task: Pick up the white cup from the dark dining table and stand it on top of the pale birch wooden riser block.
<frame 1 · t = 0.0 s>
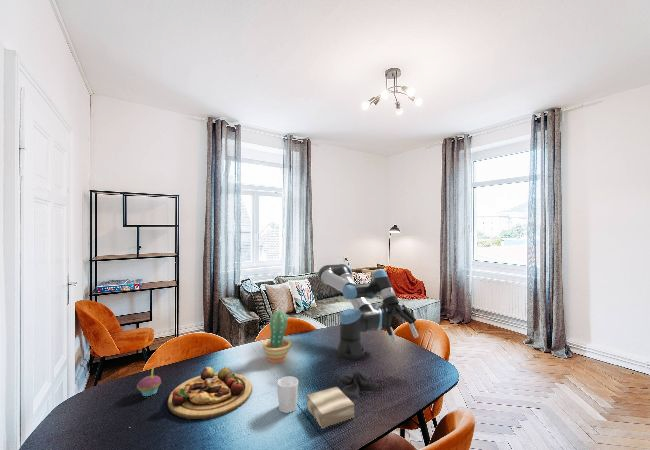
hand: (406, 339, 139), 15 cm above the table, tool tilted 35°, fingers open, 13 cm apart
cloth: (360, 386, 127), on the table
potted cactus: (276, 359, 152), on the table
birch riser: (330, 412, 107), on the table
cupcake: (149, 394, 119), on the table
white cup: (287, 408, 110), on the table
wooden plate with food: (211, 396, 119), on the table
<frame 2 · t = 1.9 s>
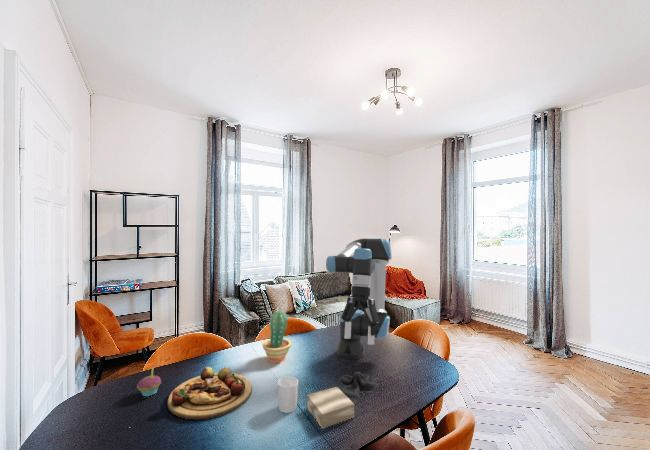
hand: (358, 341, 113), 24 cm above the table, tool pointing down, fingers open, 13 cm apart
nothing on the table moved.
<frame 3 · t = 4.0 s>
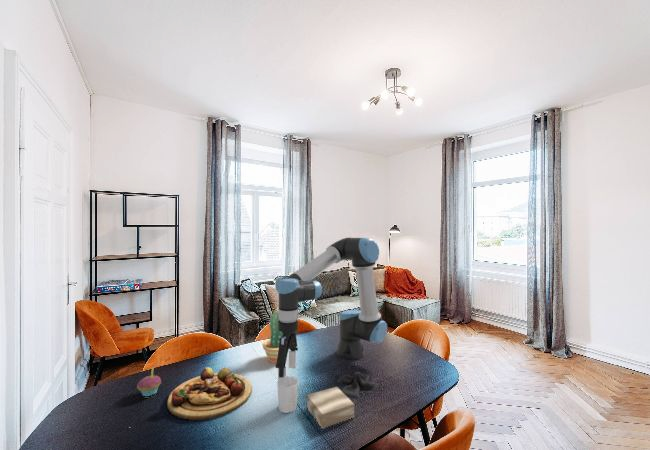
hand: (287, 375, 110), 12 cm above the table, tool pointing down, fingers open, 13 cm apart
nothing on the table moved.
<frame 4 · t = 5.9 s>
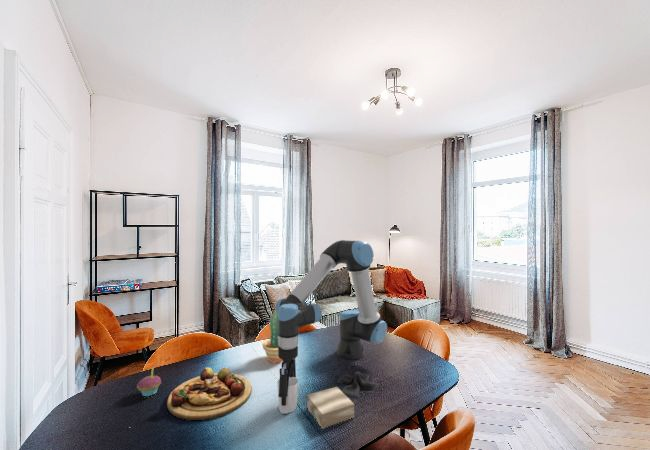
hand: (287, 405, 110), 1 cm above the table, tool pointing down, fingers closed on white cup, 8 cm apart
white cup: (287, 408, 110), on the table, touching gripper
everything else where it was.
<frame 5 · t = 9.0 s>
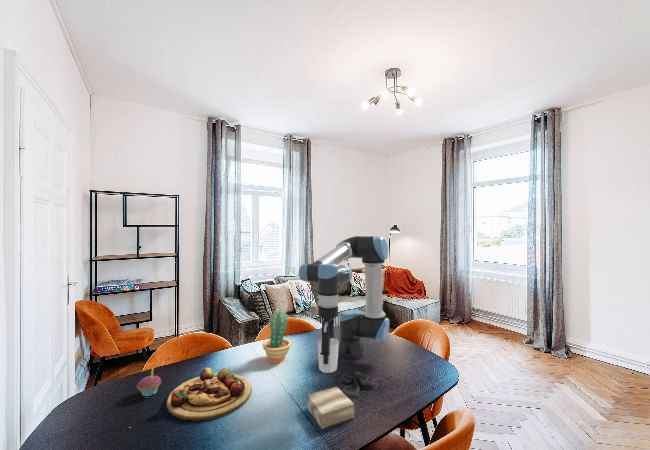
hand: (328, 366, 108), 17 cm above the table, tool pointing down, fingers closed on white cup, 8 cm apart
white cup: (328, 368, 108), point 16 cm above the table, touching gripper
everything else where it was.
when the fingers open (7 cm above the table, at t = 12.3 s): white cup drops 1 cm, resting on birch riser.
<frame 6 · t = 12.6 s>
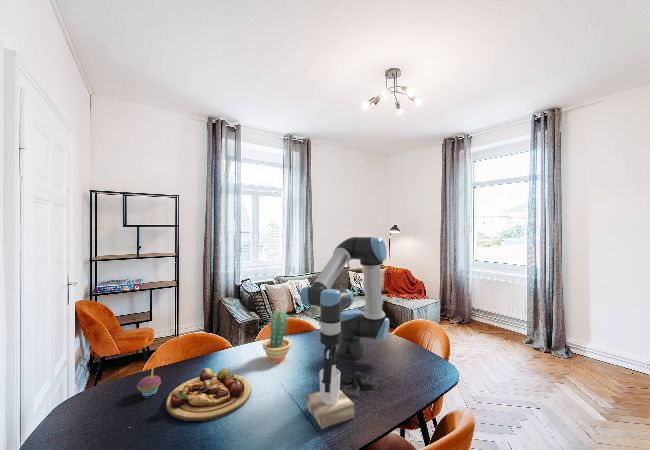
hand: (330, 390, 107), 8 cm above the table, tool pointing down, fingers open, 12 cm apart
white cup: (329, 400, 107), point 5 cm above the table, touching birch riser
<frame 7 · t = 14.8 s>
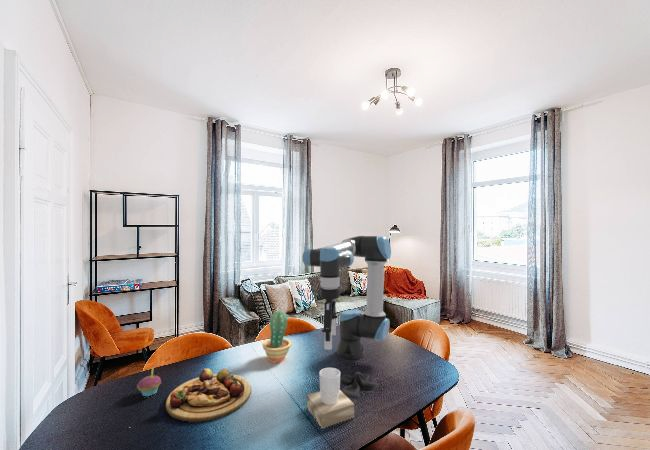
hand: (330, 341, 113), 24 cm above the table, tool pointing down, fingers open, 13 cm apart
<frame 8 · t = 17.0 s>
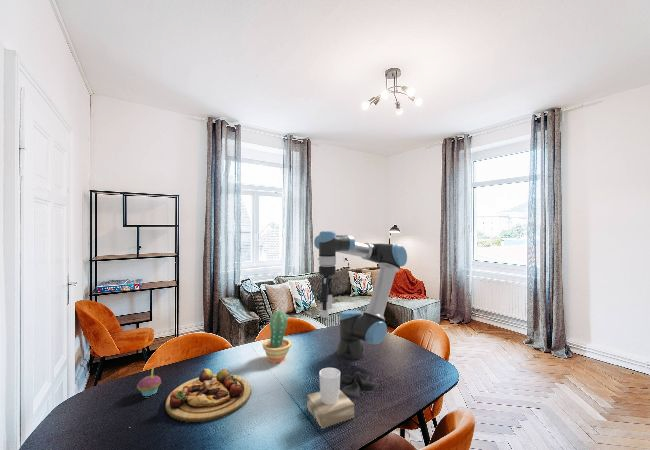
hand: (327, 312, 130), 31 cm above the table, tool pointing down, fingers open, 13 cm apart
at the end: white cup inside the target area on the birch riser (0.2 cm from its centre), point 4.8 cm above the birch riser's base; white cup tilted 0°; the gripper is holding nothing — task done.
